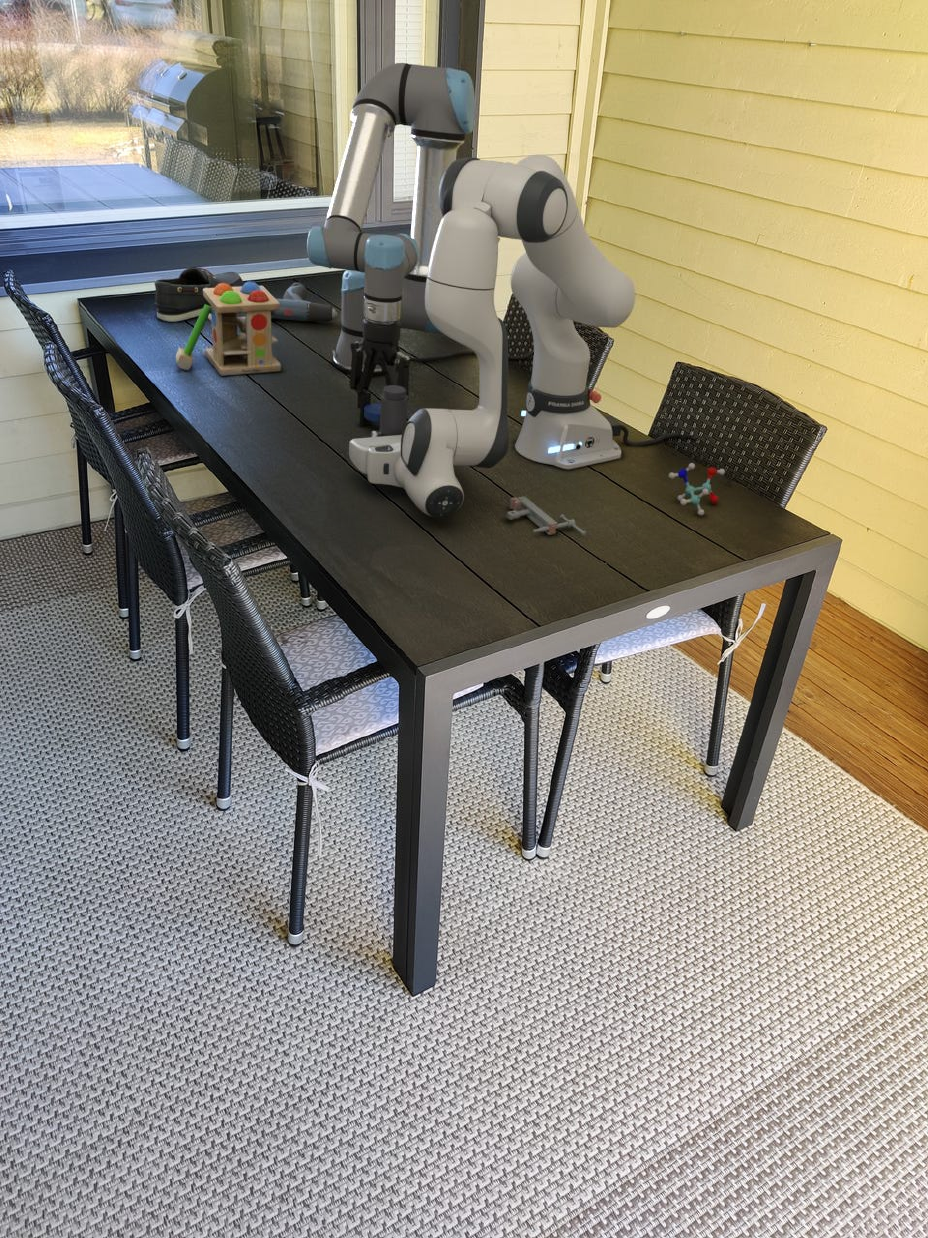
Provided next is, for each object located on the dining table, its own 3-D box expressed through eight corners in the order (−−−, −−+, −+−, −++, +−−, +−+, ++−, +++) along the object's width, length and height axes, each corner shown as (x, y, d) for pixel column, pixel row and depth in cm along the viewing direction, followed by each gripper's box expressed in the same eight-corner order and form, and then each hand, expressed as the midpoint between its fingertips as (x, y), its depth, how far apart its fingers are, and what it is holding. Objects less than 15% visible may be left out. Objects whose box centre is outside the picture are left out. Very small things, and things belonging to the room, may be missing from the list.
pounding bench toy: (183, 379, 220) (176, 299, 210) (169, 357, 231) (162, 280, 221) (282, 371, 230) (280, 294, 220) (264, 350, 240) (262, 276, 230)
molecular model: (729, 509, 182) (714, 457, 180) (679, 523, 185) (663, 472, 184) (733, 500, 192) (719, 451, 191) (686, 514, 196) (671, 466, 194)
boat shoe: (262, 300, 274) (260, 262, 268) (174, 323, 250) (170, 282, 245) (229, 292, 279) (226, 254, 274) (139, 314, 256) (134, 273, 250)
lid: (394, 413, 208) (394, 405, 207) (387, 423, 204) (387, 415, 203) (368, 409, 209) (368, 401, 208) (360, 419, 204) (360, 411, 203)
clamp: (496, 500, 180) (542, 491, 184) (495, 510, 181) (540, 501, 185) (542, 538, 169) (588, 528, 174) (540, 549, 170) (586, 539, 175)
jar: (388, 473, 191) (392, 395, 182) (373, 463, 194) (375, 386, 185) (409, 467, 193) (413, 390, 185) (393, 457, 196) (397, 382, 188)
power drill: (344, 304, 276) (335, 327, 259) (277, 298, 275) (264, 321, 258) (344, 285, 273) (335, 306, 256) (277, 279, 272) (264, 300, 255)
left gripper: (332, 312, 196) (330, 421, 209) (411, 334, 189) (404, 445, 201) (354, 304, 201) (351, 411, 214) (431, 325, 194) (424, 434, 207)
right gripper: (468, 442, 182) (442, 413, 192) (362, 452, 175) (341, 421, 185) (465, 473, 186) (439, 443, 196) (361, 484, 178) (340, 452, 189)
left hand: (377, 427), depth 208 cm, fingers closed on lid, 6 cm apart
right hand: (390, 432), depth 191 cm, fingers closed on jar, 5 cm apart
